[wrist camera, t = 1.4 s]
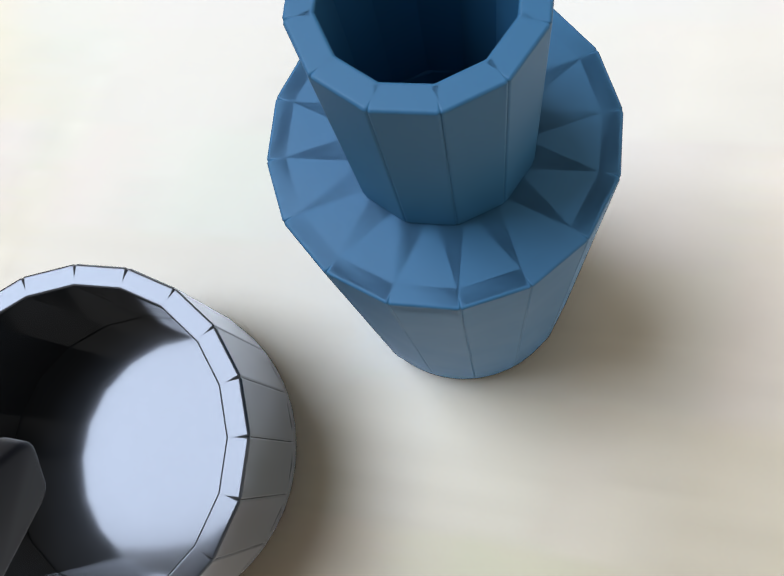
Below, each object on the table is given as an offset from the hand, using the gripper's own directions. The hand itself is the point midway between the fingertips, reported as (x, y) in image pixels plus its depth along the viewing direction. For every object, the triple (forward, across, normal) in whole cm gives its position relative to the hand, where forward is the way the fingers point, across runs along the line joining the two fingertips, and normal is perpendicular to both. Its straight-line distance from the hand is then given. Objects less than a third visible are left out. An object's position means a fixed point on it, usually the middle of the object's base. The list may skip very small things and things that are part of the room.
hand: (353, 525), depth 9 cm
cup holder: (+8, +9, +9) cm, 15 cm away
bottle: (+13, 0, +4) cm, 14 cm away
